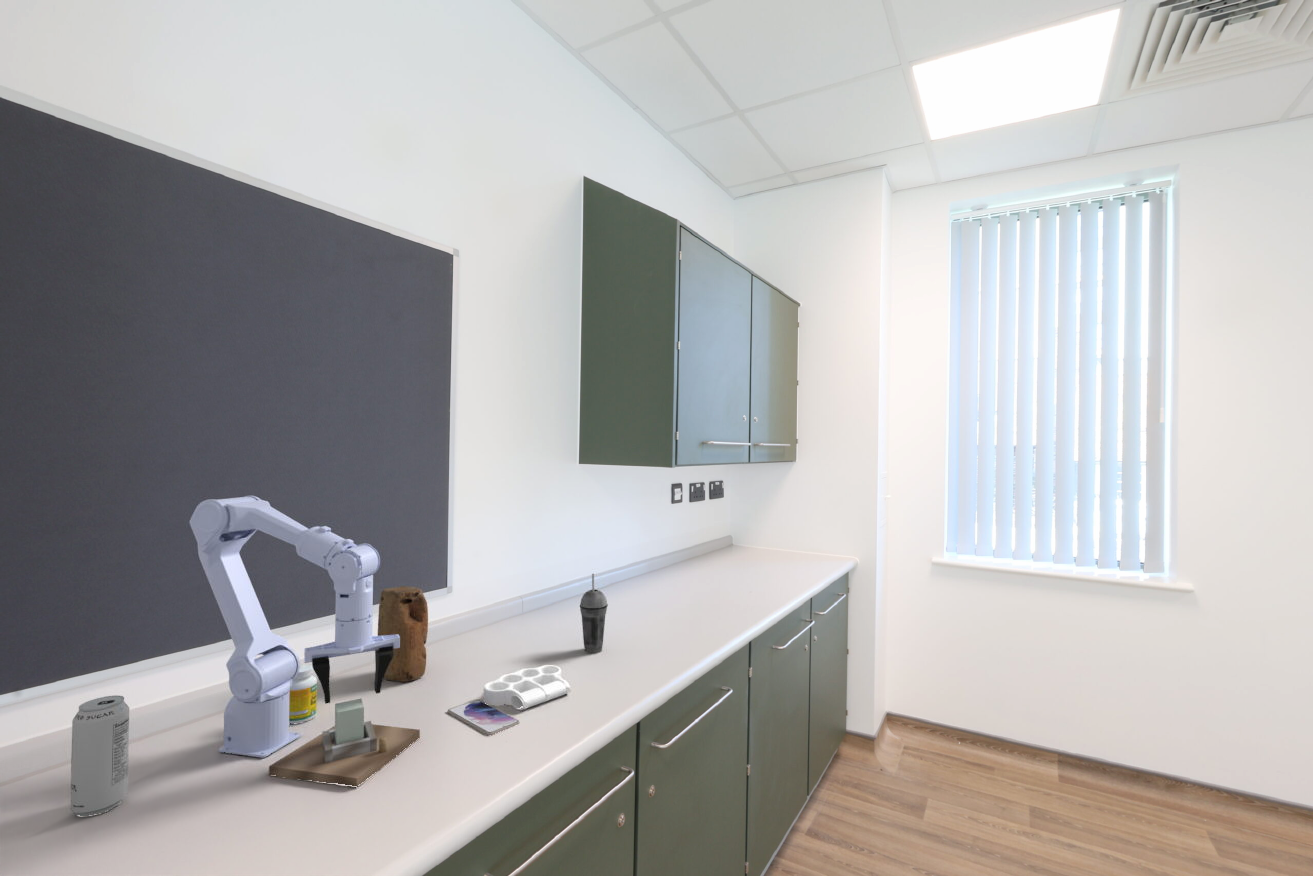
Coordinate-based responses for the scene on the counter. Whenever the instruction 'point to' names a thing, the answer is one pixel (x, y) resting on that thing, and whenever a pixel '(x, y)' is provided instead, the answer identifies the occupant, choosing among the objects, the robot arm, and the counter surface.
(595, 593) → the beverage cup
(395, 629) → the block
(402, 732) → the socket plate
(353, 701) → the sage block
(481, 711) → the smartphone
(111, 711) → the energy drink can
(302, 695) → the supplement bottle
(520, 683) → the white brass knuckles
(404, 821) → the counter surface
